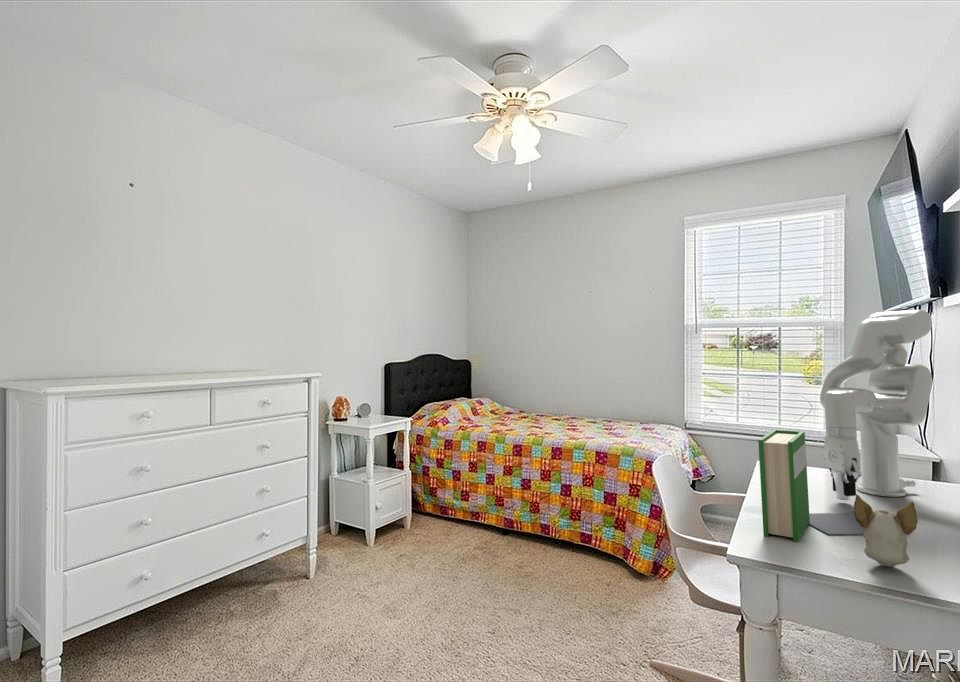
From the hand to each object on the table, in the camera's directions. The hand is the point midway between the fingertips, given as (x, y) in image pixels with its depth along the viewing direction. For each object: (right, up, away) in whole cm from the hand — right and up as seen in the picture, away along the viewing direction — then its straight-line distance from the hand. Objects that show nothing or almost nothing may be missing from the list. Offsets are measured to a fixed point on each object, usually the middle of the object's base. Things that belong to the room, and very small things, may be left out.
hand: (844, 492), depth 154 cm
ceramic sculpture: (-23, -3, -45) cm, 51 cm away
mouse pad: (-12, -3, -18) cm, 22 cm away
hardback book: (-30, -3, -21) cm, 37 cm away
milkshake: (0, -2, 0) cm, 2 cm away
